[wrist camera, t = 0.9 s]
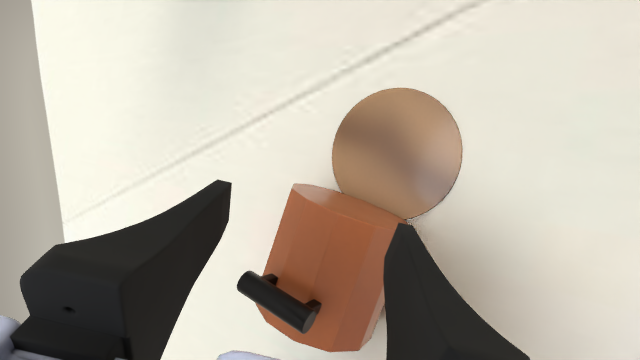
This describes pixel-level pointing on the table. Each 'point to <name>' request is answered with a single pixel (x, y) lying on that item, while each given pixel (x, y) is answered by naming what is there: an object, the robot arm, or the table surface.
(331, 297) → the pot
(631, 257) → the table surface
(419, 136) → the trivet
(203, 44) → the table surface
